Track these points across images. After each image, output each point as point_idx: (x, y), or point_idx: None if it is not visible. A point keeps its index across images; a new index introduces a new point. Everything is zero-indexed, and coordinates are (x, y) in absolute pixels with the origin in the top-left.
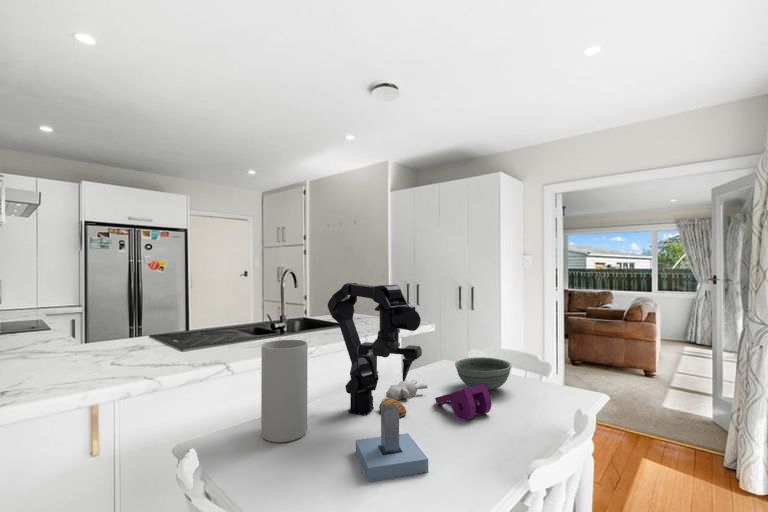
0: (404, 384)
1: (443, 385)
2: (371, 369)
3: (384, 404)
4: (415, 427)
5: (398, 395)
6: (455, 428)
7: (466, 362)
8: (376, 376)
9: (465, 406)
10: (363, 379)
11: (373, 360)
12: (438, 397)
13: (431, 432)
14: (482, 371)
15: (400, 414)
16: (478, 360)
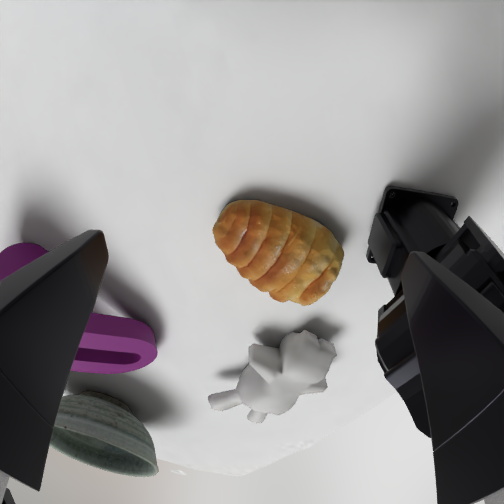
0: (274, 395)
1: (196, 419)
2: (482, 301)
3: (320, 252)
4: (141, 129)
5: (288, 349)
6: (30, 178)
7: (146, 467)
8: (391, 350)
9: (10, 270)
10: (476, 277)
11: (498, 409)
12: (126, 336)
13: (75, 112)
14: (58, 426)
15: (231, 207)
16: (126, 469)
